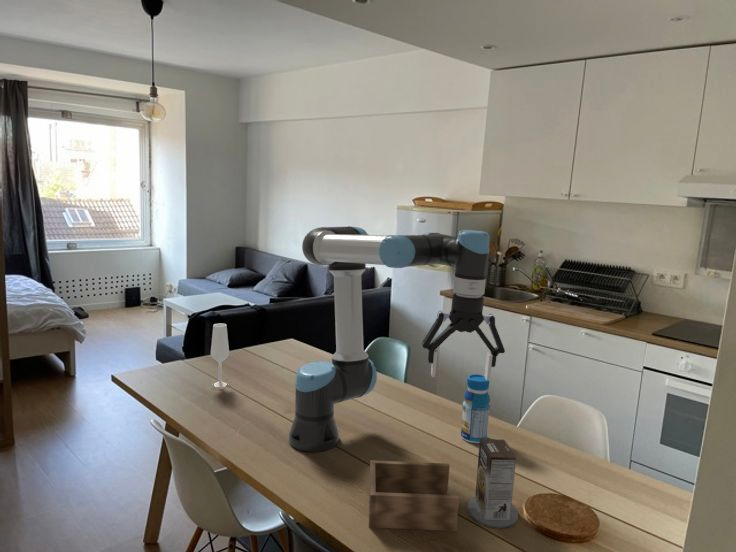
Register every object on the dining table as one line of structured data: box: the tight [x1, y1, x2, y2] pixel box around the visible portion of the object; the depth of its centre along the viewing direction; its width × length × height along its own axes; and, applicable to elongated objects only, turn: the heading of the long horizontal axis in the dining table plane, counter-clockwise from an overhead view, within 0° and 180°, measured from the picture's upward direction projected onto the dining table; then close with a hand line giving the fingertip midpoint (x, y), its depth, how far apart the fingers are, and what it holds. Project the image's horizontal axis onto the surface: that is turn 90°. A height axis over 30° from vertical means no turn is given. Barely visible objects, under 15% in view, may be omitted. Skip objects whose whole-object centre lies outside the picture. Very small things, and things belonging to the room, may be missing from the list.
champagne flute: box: [210, 323, 230, 387], centre depth 197 cm, size 7×7×24 cm
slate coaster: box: [466, 496, 519, 529], centre depth 127 cm, size 12×12×1 cm
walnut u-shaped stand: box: [368, 459, 460, 532], centre depth 126 cm, size 20×15×8 cm
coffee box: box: [474, 438, 517, 520], centre depth 126 cm, size 9×6×16 cm
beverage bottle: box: [460, 373, 491, 444], centre depth 164 cm, size 8×8×20 cm
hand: (459, 377), depth 131 cm, fingers open, 13 cm apart
